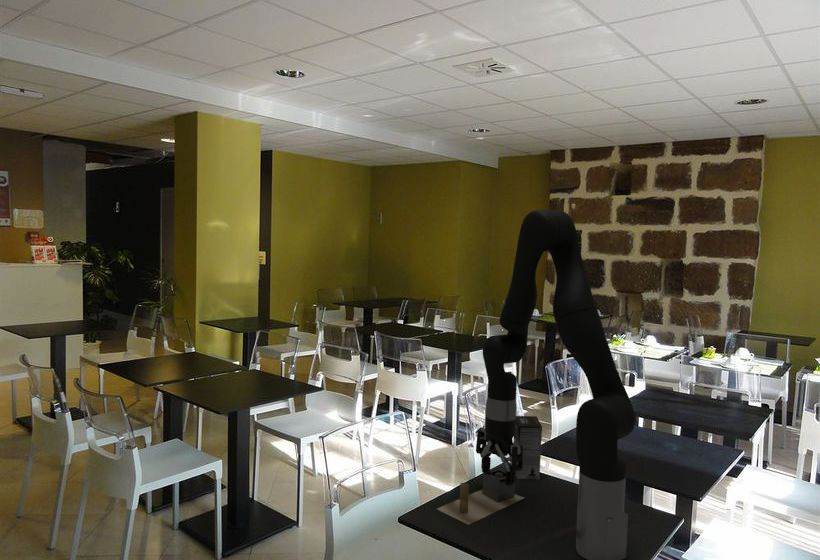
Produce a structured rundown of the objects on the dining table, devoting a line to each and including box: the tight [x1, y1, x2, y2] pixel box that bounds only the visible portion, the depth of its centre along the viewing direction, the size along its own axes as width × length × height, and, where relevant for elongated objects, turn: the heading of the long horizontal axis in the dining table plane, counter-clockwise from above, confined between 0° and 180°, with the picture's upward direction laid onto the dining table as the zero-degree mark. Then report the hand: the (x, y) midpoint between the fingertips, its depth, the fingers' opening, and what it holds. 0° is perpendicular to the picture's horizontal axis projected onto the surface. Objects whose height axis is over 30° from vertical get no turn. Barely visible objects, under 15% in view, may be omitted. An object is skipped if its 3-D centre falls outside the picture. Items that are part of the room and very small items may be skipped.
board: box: [436, 473, 525, 525], centre depth 143 cm, size 21×10×8 cm, turn 133°
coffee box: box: [513, 415, 543, 480], centre depth 162 cm, size 9×6×16 cm
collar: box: [482, 467, 516, 502], centre depth 147 cm, size 6×6×6 cm
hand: (497, 478), depth 147 cm, fingers open, 8 cm apart
